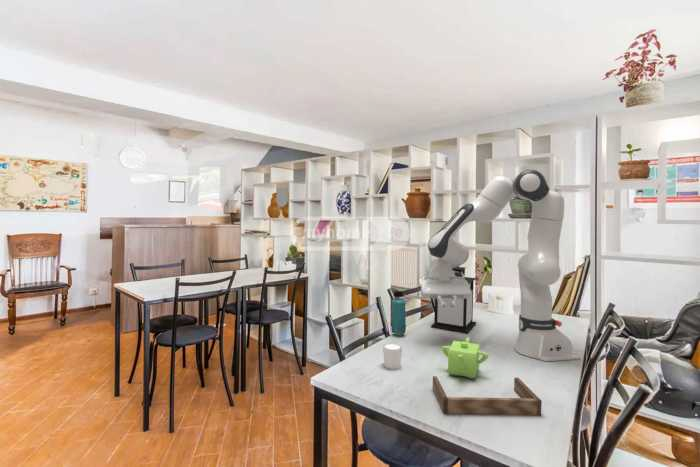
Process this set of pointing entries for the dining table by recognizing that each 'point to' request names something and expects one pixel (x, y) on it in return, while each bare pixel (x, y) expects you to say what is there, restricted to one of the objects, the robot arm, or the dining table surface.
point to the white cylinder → (392, 355)
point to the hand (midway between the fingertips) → (448, 306)
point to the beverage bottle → (398, 314)
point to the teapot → (464, 358)
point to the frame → (490, 402)
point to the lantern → (455, 311)
